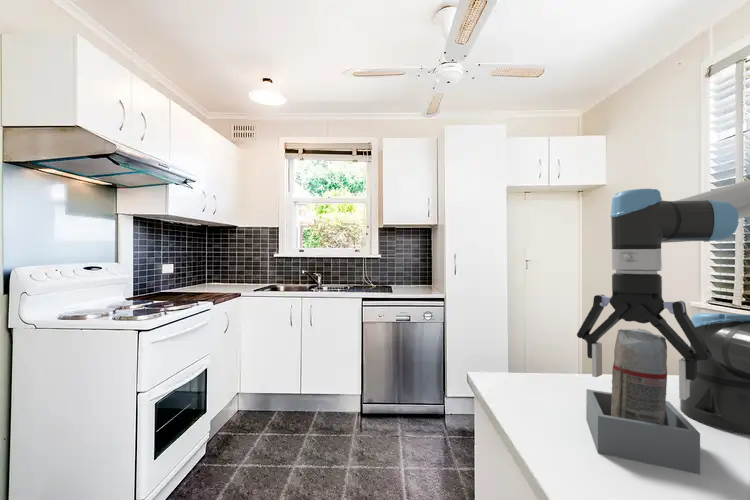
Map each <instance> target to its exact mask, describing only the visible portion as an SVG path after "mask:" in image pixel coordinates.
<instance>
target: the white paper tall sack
mask: <svg viewBox="0 0 750 500" xmlns="http://www.w3.org/2000/svg"><path fill="white" fill-rule="evenodd" d="M615 339H616V340H615V343H614V344H615V345H614V350H613V351H614V353H613V354H614V359H613V365H612V375H611V376H612V378H611V385H612V386H611V393H612V405H611V416H614V417H620V418H625V419H631V420H637V421H643V422H649V423H655V424H661V425H664V419H665V404H666V401H667V382H668V366H667V365H668V364H667V361H668V360H667V359H668V358H667V357H668V345H667V344H668V343H667V339H666V338H665V337H664V336H663V335H662V334H661V335H660V334H654V333H653V332H651V331H650V330H646V329H641V328H635V329H629V328H626V329H622V328H621V329H618V330H617V334H616V338H615Z"/></svg>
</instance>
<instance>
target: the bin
mask: <svg viewBox="0 0 750 500" xmlns="http://www.w3.org/2000/svg"><path fill="white" fill-rule="evenodd" d="M585 402H586V409H585V410H586V416H585V417H586V422H587V425H588V428H589V431H590V434H591V437H592V440H593V443H594V447H595V449H596V452H597V454H602V455H607V456H610V457H615V458H620V459H626V460H629V461H634V462H640V463H642V464H643V463H644V464H648V465H653V466H658V467H663V468H666V469H673V470H678V471H682V472H687V473H692V474H697V475H701V432H699V431H698V430H697V428H696V427H694V426H693V424H692V423H690V422H689V420H688V419H686V417H685V416H684V415H683V414H681V412H680V411H679V410H678V409H677V408H676V407H675V406H674V405H673V404H672V403H671V402H670V401H668V400H666V404H665V419H664V425H661V424H655V423H649V422H643V421H637V420H631V419H625V418H620V417H614V416H611V405H612V392H608V391H601V390H594V389H586V401H585Z"/></svg>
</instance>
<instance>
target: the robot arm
mask: <svg viewBox="0 0 750 500" xmlns="http://www.w3.org/2000/svg"><path fill="white" fill-rule="evenodd" d="M661 195H662V194H661V191H660V190H658V189H657V188H635V189H628V190H627V189H626V190H623V191H619V192H617V193H615V194H614V195H613V196H612V199H611V211H610V219H611V223H610V224H611V225H610V226H611V269H612V270H613V271H615V272H613V273H612V274H611V290H612V291H611V292H612V294H611V297H610V296H606V295H604V294H598V295H597V294H596V295H594V297H593V301H592V306H591V309H590V310H589V312H588V313H587V316H586V317H585V318H584V321H583V322H582V324H581V326H580V328H579V330H578V332H577V333H576V336H577V338H579V339H582V340H584V341H585V342H586V343H587V344H586V350H587V358H588V359H591V369H592V371H591V373H592V375H591V376H592V377H594V378H598V377H600V376H602V375H603V343H602V342H598V341H599V340H600V339H601V337H603V336H604V335H605V334H606V333H607V332H608V331H610V330H611V329H612V328H613V327H614V326H615V325H616V324H617V323H619V321H621V320H623V321H624V322H636V323H639V324H648V323H650V324H651V325H652V326H653V327H654V328H655V329H657V331H658V332H659V333H660V334H661V335H662V336H663V337H664V338H665V339H666V341H667V342H668V343H669V344H671V346H672V347H673V348H674V349H675V350H676V351H677V352H678V354H680V355H681V356H682V358H680V359H678V385H679V387H678V389H679V390H678V391H679V395H678V398H679V400H680V402H679V405H680V407H679V409H680V411H681V412H682V413H683V414H684V415H686V416H687V417H689V418H691V419H693V420H695V421H697V422H700V423H702V424H704V425H707V426H711V427H712V428H713V427H714V428H717V429H721V430H723V431H728V432H732V433H735V434H740V435H747V436H750V314H744V313H743V314H741V313H740V314H739V313H711V312H709V313H708V312H707V313H706V312H698V313H695V314H693V315H692V316H691V318H690V317H689V315H688V312H687V308H686V303H685V302H684V301H683V300H678V301H664V299H663V284H662V283H663V282H662V281H663V279H662V277H663V276H661V274H659V272H661V271H662V269H663V268H662V267H663V265H662V263H663V262H662V243H663V244H664V243H679V242H681V243H682V242H683V243H684V242H704V243H706V242H708V243H709V242H713V241H715V242H718V241H725V240H726V239H729V238H731V236H733V235H734V233H735V232H736V231H737V229H738V226H739V225H740V224H739V219H743V218H747V217H750V179H746V180H743V181H740V182H736V183H732V184H729V185H725V186H722V187H719V188H716V189H712V190H707V191H705V192H702V193H699V194H694V195H691V196H688V197H684V198H681V199H678V200H670V201H669V200H663V198H662V196H661ZM609 304H610V305H611V307H612V308H613V310H614V311H613V312H612V313H611V314H609V316H608V317H607V318H606V319H605V320H604V321H603V322H602V323H601V324H600V325H599V326H597V328H595V329H594V330H593V332H592V333H591V331H592V329H593V327H594V326H595V324H596V323H597V321H598V319H599V317H600V316H601V314H602V312H603V310H604V309H605V307H607V306H608V305H609ZM665 309H666V310H667V311H668V312H669V314H671V315H674V318H675V320H676V322H677V323H678V325H679V327H680V328H681V330H682V331H683V333H684V336H685V337H686V338H687V340H688V342H689V343H690V345H689V344H688V343H687V342H686V341H685V340H684V339H683V338H682V337H681V336H680V335H679V334H678V333H677V332H676V331H675V330H674V328H672V327H671V326H670V325H669V323H668V322H667V321H666V319H665V317H663V316H662V315H661V313H662V312H663V311H664V310H665Z"/></svg>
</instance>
